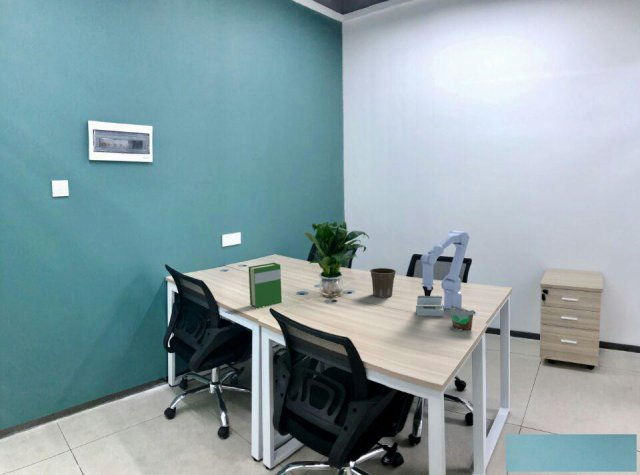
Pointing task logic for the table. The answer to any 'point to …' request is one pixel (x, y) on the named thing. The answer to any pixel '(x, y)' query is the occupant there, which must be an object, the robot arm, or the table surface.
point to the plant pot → (382, 281)
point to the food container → (461, 318)
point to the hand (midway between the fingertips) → (427, 299)
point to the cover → (429, 300)
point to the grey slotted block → (429, 311)
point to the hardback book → (265, 284)
